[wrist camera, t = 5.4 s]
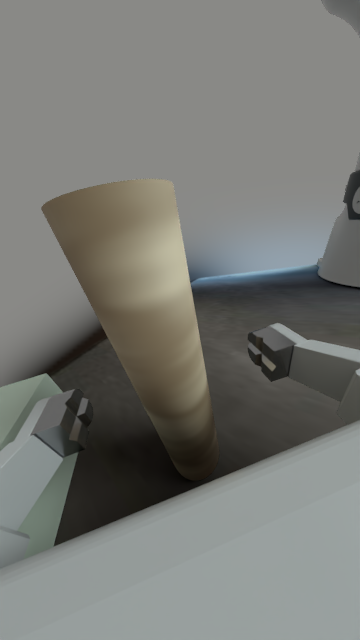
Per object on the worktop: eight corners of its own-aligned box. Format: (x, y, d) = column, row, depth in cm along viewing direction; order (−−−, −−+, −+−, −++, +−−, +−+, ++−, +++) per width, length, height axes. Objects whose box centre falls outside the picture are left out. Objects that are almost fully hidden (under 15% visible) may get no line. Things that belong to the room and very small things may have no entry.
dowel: (208, 418, 13) (163, 197, 6) (228, 469, 10) (187, 167, 3) (168, 432, 12) (70, 217, 6) (177, 489, 10) (4, 204, 3)
